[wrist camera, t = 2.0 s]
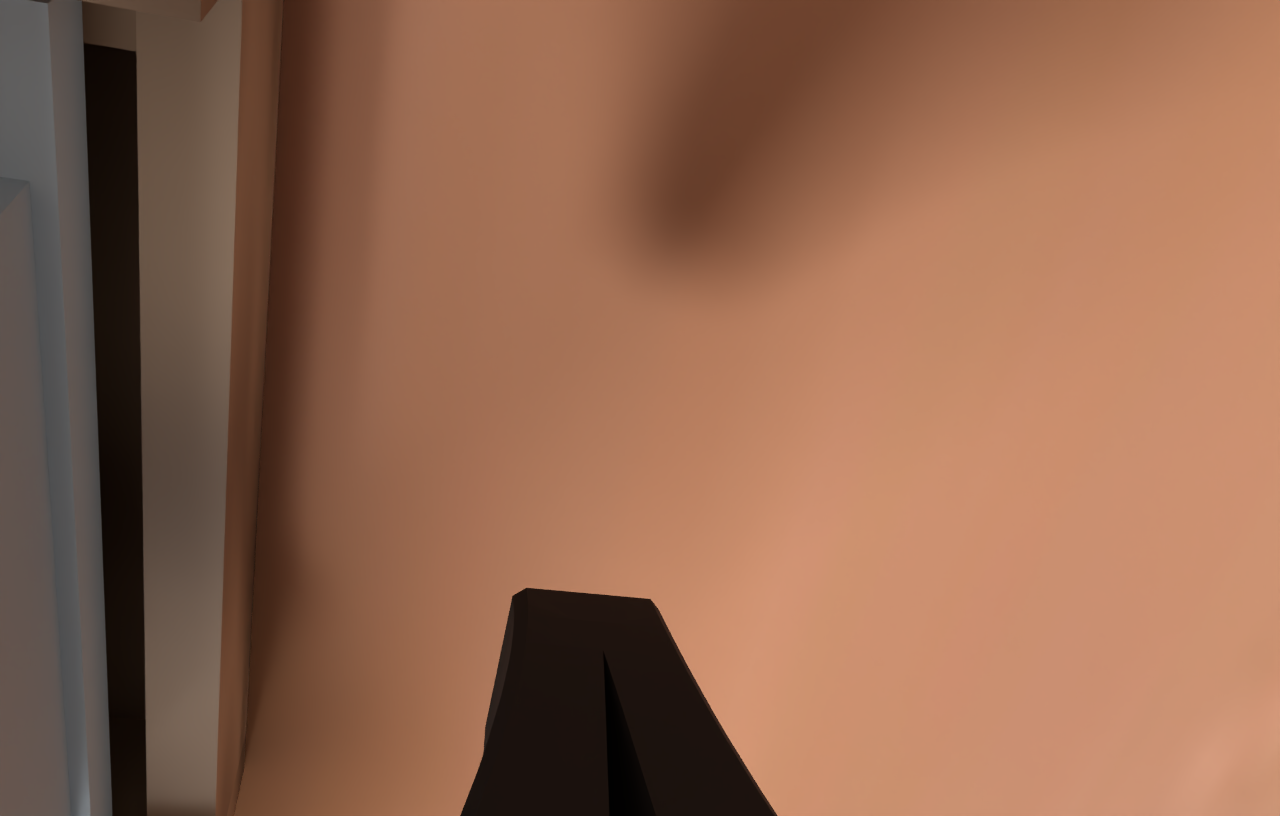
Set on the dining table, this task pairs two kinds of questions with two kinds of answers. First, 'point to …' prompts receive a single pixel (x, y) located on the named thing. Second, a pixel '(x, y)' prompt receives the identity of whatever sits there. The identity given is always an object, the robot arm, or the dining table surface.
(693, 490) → the dining table surface
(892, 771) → the dining table surface
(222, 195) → the case
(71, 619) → the cover plate
